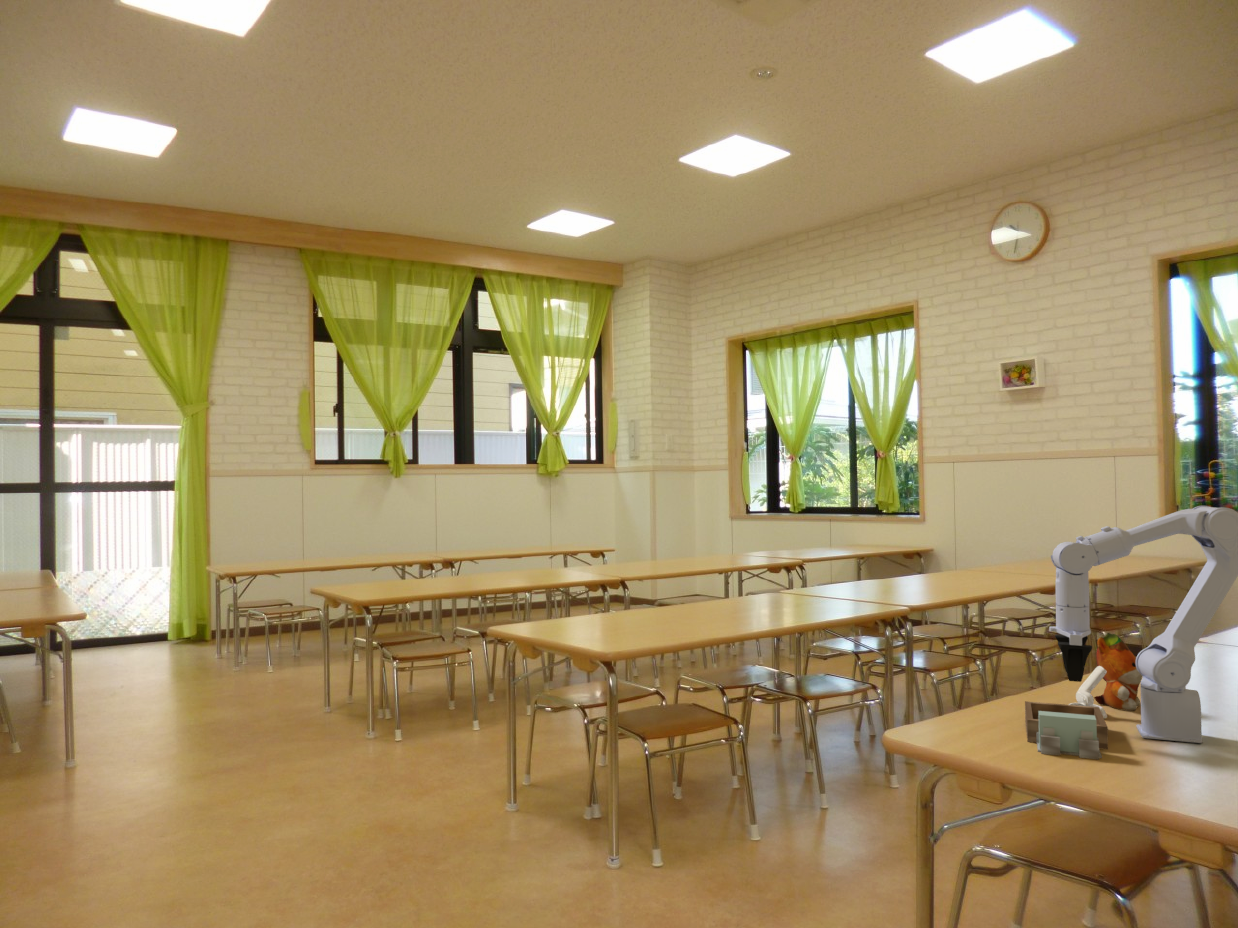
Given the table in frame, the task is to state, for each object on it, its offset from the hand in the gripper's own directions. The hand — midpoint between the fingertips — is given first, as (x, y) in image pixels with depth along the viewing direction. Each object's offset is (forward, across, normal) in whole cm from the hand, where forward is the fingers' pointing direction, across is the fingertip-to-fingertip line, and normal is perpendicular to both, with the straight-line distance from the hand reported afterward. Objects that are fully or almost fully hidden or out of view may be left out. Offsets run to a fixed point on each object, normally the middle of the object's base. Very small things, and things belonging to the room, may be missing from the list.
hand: (1073, 676), depth 169 cm
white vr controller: (+11, -14, +3) cm, 18 cm away
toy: (+11, -24, +10) cm, 28 cm away
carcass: (+10, +6, -2) cm, 12 cm away
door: (+10, +13, -2) cm, 17 cm away
